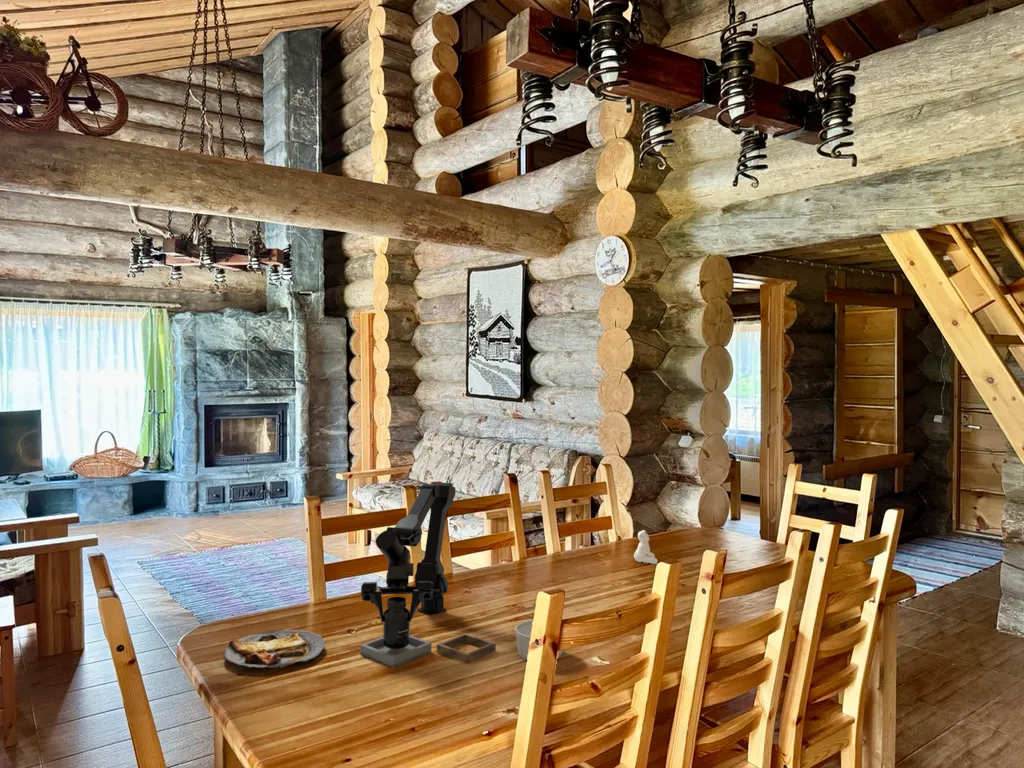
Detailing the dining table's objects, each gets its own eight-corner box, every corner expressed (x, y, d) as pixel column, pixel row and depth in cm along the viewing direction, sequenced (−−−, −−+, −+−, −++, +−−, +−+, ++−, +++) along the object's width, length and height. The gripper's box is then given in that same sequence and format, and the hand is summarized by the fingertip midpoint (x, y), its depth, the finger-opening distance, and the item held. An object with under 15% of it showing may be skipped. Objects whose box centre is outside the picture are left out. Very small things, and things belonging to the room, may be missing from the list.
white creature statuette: (658, 565, 278) (659, 533, 278) (635, 564, 279) (636, 533, 278) (653, 558, 288) (654, 527, 288) (631, 557, 288) (632, 527, 288)
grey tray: (360, 654, 191) (360, 644, 191) (397, 639, 201) (397, 630, 201) (394, 668, 183) (394, 658, 183) (431, 652, 193) (431, 642, 193)
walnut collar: (436, 652, 193) (436, 644, 193) (465, 640, 202) (465, 632, 202) (467, 663, 187) (467, 655, 186) (495, 650, 195) (495, 642, 195)
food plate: (228, 680, 175) (229, 665, 175) (218, 646, 196) (218, 633, 196) (333, 664, 187) (334, 650, 187) (313, 634, 207) (313, 621, 207)
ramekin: (570, 649, 197) (571, 623, 197) (557, 668, 184) (557, 641, 184) (523, 642, 201) (524, 617, 201) (507, 660, 189) (508, 634, 188)
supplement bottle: (404, 650, 188) (404, 604, 188) (379, 648, 190) (378, 602, 189) (413, 640, 195) (413, 595, 195) (389, 638, 197) (388, 594, 196)
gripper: (361, 552, 194) (357, 608, 184) (432, 551, 196) (432, 606, 186) (364, 573, 203) (360, 627, 192) (432, 571, 205) (432, 625, 194)
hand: (396, 621), depth 191 cm, fingers closed on supplement bottle, 7 cm apart
